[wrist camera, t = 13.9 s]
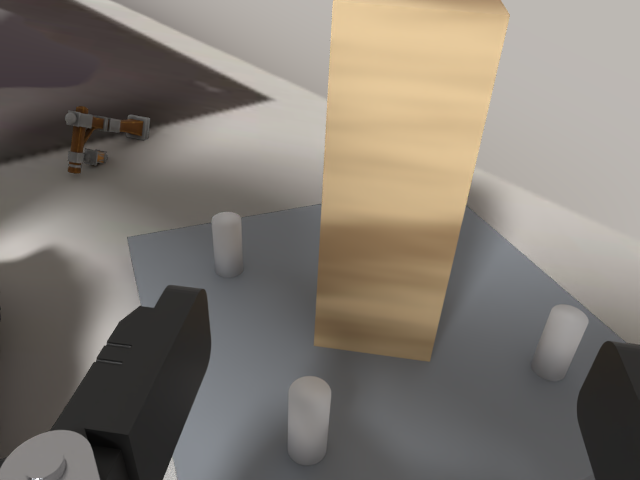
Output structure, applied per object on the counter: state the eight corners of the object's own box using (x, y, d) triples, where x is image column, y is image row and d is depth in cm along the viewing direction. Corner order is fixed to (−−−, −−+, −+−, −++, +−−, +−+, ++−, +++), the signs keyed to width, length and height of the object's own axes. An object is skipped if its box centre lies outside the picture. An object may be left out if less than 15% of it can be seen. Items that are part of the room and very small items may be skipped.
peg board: (214, 658, 16) (203, 586, 13) (131, 259, 31) (118, 189, 28) (700, 444, 22) (755, 368, 20) (436, 202, 37) (448, 141, 35)
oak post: (429, 361, 23) (509, 15, 15) (313, 345, 24) (332, 1, 16) (427, 287, 27) (490, -17, 19) (328, 275, 28) (350, -28, 20)
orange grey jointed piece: (50, 170, 37) (56, 102, 36) (124, 167, 45) (130, 111, 44) (73, 175, 36) (79, 107, 36) (143, 172, 44) (150, 115, 43)
